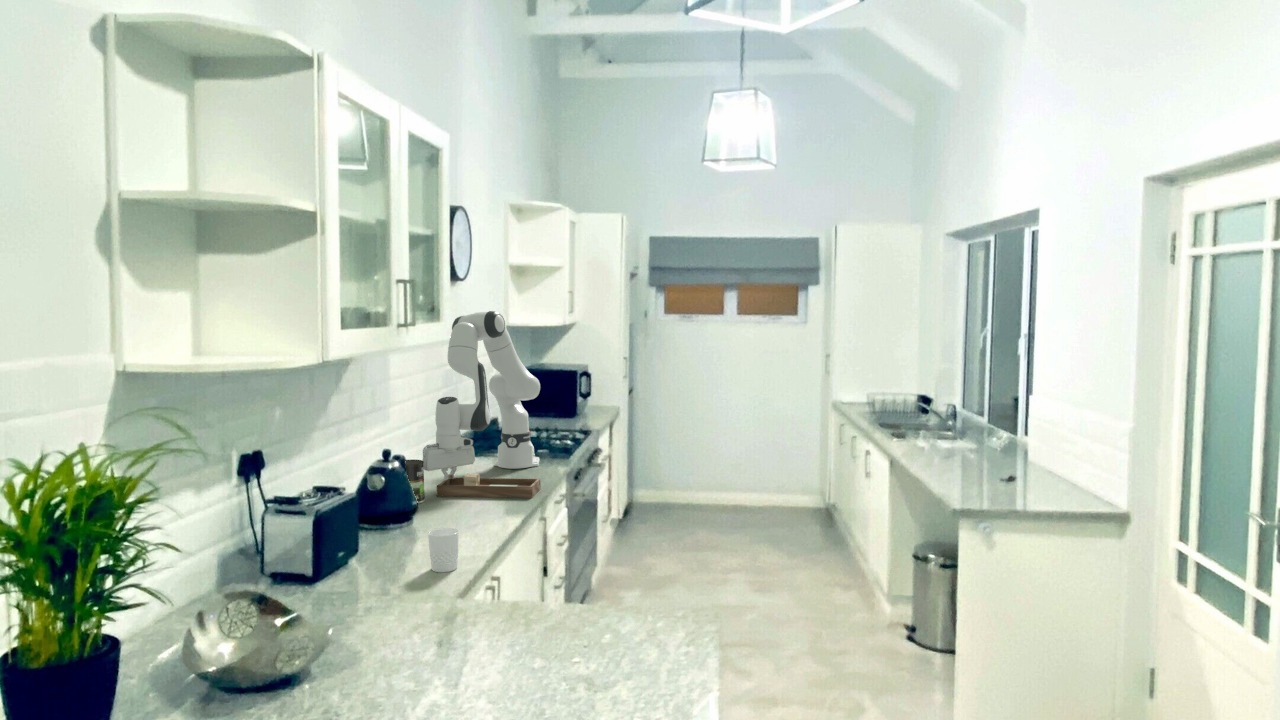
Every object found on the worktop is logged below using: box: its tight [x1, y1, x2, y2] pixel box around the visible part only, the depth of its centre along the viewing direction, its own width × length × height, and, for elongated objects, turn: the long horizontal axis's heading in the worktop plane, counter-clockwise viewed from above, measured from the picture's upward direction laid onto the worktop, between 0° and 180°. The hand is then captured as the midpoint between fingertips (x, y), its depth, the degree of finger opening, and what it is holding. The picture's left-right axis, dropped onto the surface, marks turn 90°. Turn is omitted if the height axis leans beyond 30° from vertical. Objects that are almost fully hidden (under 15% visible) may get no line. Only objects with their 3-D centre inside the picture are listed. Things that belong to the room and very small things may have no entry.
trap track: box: [436, 477, 541, 499], centre depth 320 cm, size 13×35×4 cm, turn 84°
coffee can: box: [404, 459, 426, 505], centre depth 308 cm, size 10×10×14 cm
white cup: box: [427, 527, 460, 573], centre depth 234 cm, size 8×8×10 cm
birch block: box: [463, 473, 481, 486], centre depth 321 cm, size 4×4×4 cm
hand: (449, 479), depth 321 cm, fingers closed
